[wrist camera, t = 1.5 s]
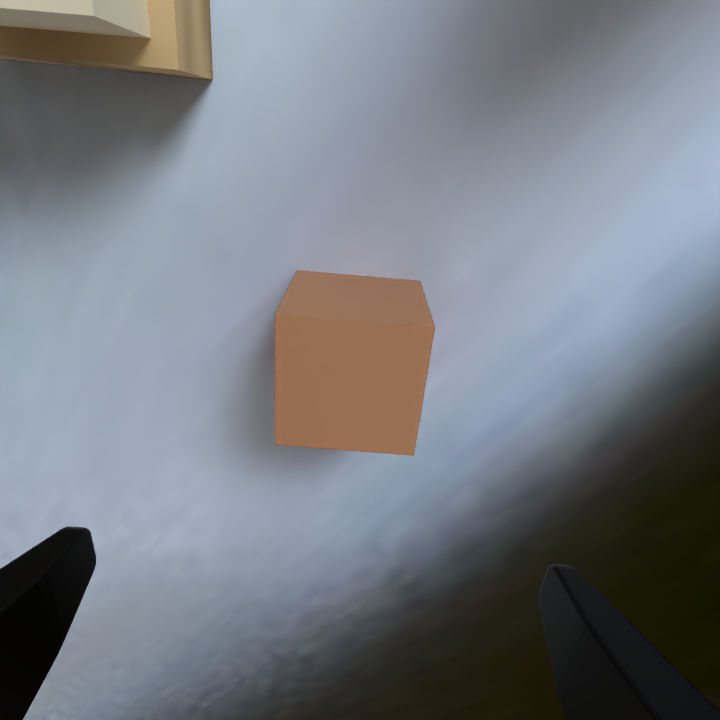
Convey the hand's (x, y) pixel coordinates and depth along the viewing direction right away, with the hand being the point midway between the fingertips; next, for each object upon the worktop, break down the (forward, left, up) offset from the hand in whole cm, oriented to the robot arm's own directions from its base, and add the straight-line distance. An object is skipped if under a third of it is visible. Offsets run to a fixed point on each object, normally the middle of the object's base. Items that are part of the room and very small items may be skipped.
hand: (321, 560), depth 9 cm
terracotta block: (0, 0, -12) cm, 12 cm away
